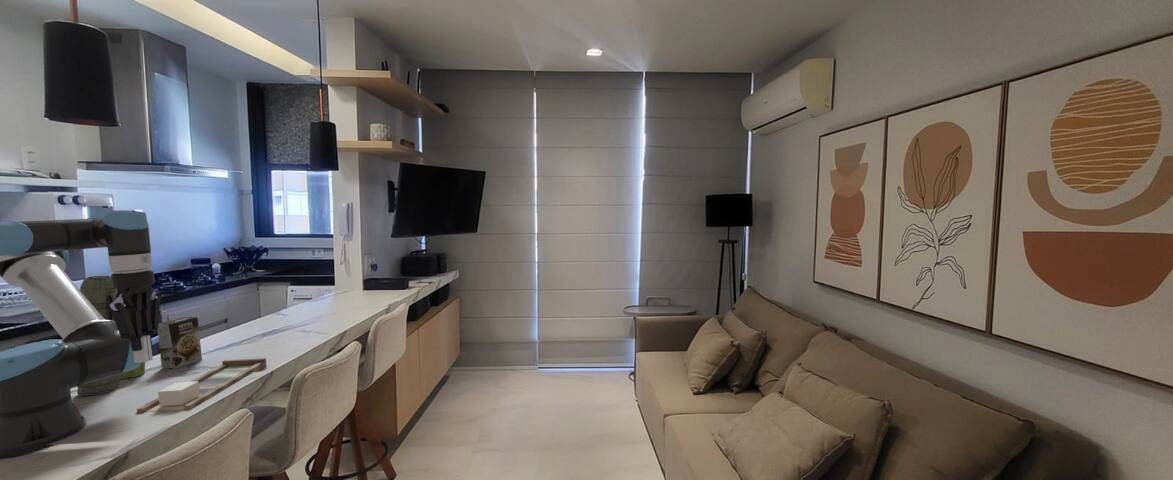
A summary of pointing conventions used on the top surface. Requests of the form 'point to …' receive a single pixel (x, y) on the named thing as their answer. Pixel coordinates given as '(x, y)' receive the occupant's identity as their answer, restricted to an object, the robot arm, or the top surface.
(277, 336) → the top surface
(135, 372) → the plant pot
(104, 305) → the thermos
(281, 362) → the top surface
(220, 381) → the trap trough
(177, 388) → the cream block
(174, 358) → the coffee box
